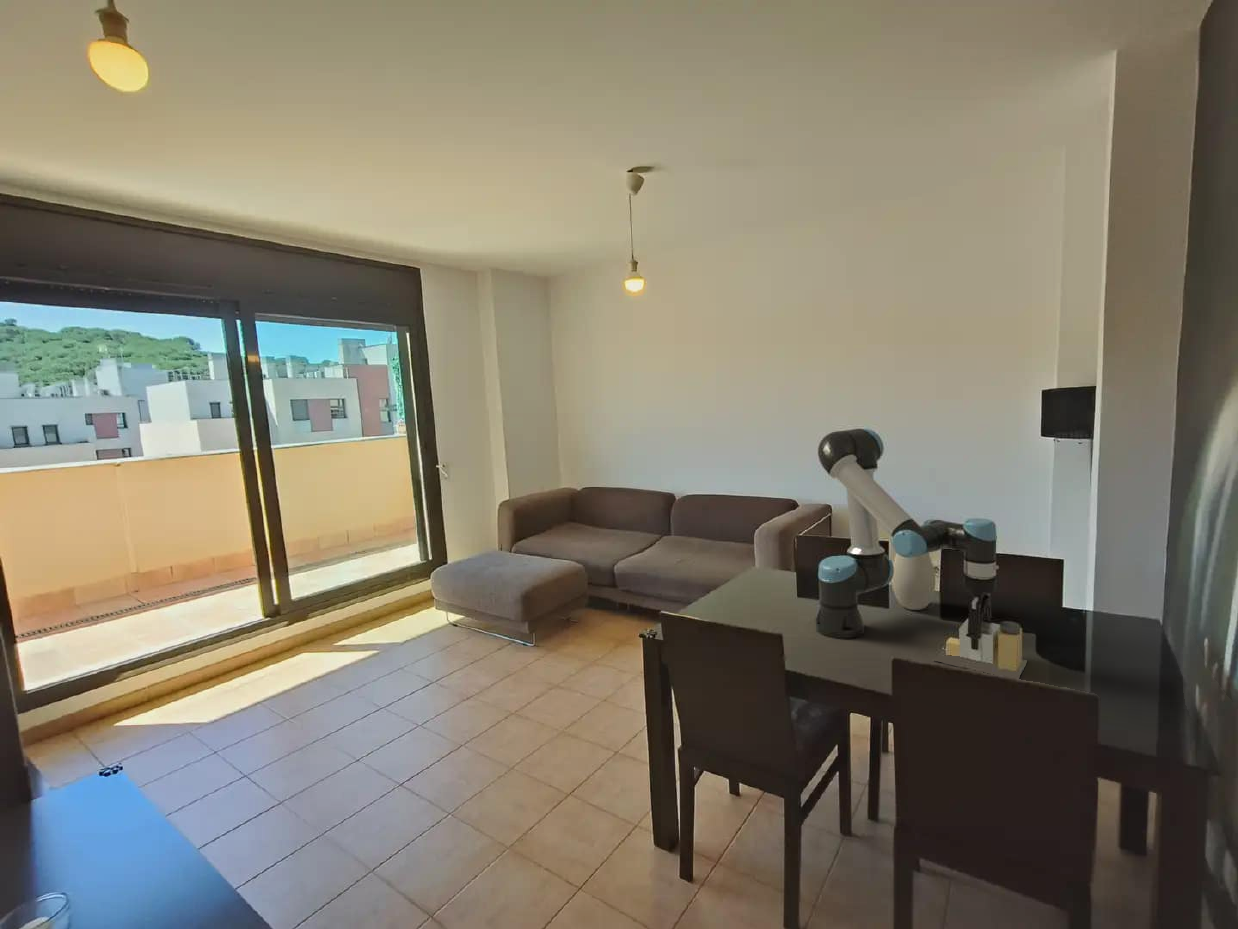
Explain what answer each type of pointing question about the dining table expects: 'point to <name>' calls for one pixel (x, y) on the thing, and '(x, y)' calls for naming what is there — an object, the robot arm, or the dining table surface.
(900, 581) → the vase
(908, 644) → the dining table surface
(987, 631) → the grey slotted block
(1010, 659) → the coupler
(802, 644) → the dining table surface
